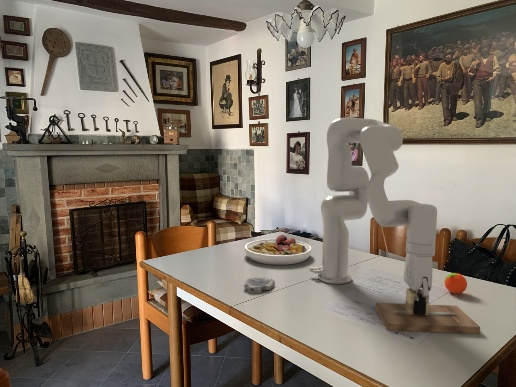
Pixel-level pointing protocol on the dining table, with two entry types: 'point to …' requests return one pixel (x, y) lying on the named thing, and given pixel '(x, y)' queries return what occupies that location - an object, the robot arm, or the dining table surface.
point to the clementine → (455, 283)
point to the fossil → (258, 284)
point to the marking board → (427, 319)
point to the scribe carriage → (410, 301)
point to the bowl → (278, 251)
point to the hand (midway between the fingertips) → (416, 310)
